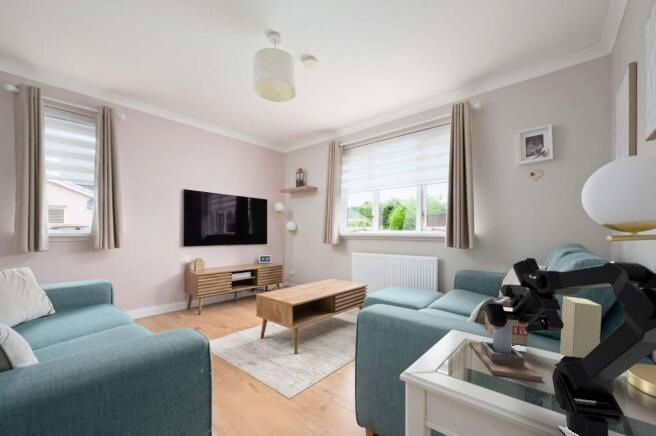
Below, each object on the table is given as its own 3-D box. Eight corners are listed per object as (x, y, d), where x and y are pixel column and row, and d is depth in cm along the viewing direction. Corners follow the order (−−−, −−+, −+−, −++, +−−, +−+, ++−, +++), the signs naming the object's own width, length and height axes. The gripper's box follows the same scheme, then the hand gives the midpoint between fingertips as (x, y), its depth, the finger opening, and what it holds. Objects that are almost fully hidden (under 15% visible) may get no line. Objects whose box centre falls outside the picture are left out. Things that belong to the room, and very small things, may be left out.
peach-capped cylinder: (511, 362, 84) (513, 320, 84) (492, 357, 87) (494, 316, 87) (510, 356, 88) (512, 316, 89) (492, 351, 91) (494, 312, 91)
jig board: (542, 381, 77) (542, 368, 77) (492, 374, 79) (492, 361, 79) (508, 349, 96) (508, 338, 96) (469, 344, 99) (469, 334, 99)
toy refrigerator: (602, 376, 81) (604, 305, 82) (571, 370, 84) (574, 302, 84) (586, 363, 89) (589, 299, 89) (559, 358, 91) (561, 296, 92)
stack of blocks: (484, 328, 117) (485, 299, 117) (500, 330, 115) (501, 301, 116) (507, 351, 96) (509, 315, 96) (527, 353, 94) (528, 318, 95)
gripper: (557, 280, 77) (532, 307, 88) (488, 275, 80) (471, 302, 90) (579, 316, 69) (547, 342, 80) (501, 310, 71) (481, 335, 82)
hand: (510, 328), depth 83 cm, fingers open, 9 cm apart
